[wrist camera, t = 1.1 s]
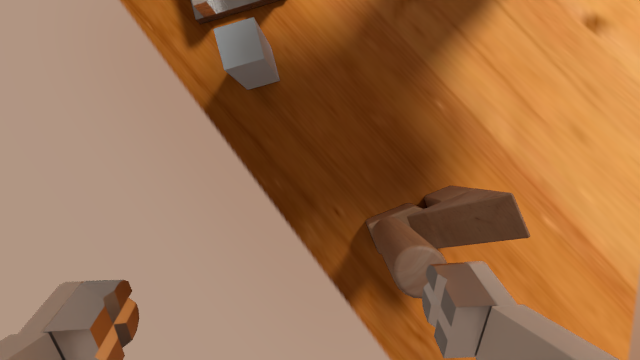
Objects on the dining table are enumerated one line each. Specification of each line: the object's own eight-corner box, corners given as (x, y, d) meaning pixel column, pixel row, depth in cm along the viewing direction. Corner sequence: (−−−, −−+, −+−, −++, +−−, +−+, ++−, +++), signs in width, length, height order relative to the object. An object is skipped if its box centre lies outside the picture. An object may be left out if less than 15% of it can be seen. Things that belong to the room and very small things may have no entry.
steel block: (239, 57, 40) (213, 29, 32) (271, 47, 40) (253, 17, 32) (247, 89, 40) (224, 69, 32) (279, 80, 40) (264, 58, 32)
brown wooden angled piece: (463, 213, 39) (566, 249, 21) (376, 248, 40) (403, 311, 22) (451, 183, 39) (543, 194, 21) (364, 219, 40) (381, 258, 22)
